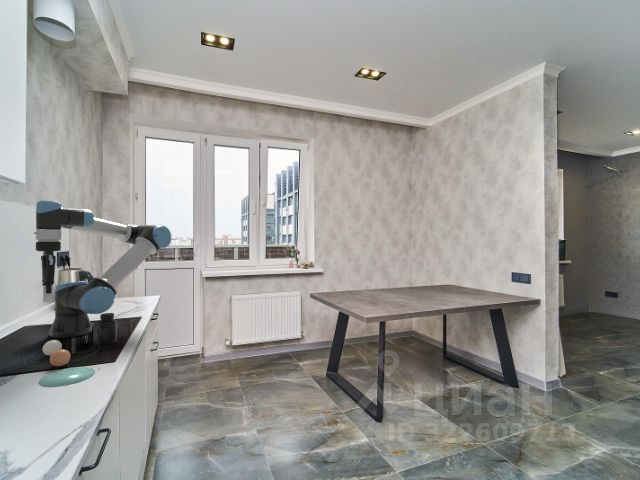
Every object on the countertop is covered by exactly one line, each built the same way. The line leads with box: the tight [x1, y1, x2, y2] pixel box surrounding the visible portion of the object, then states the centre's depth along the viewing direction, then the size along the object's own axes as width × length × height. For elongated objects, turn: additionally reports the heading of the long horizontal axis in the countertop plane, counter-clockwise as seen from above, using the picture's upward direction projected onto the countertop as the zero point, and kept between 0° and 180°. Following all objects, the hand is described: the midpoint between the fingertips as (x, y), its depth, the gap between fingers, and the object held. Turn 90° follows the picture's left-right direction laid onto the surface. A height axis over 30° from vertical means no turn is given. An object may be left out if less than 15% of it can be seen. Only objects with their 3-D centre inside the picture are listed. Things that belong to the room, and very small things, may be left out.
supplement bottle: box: [96, 312, 118, 346], centre depth 135 cm, size 7×7×12 cm
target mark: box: [38, 366, 96, 388], centre depth 103 cm, size 14×14×1 cm
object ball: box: [49, 348, 71, 367], centre depth 111 cm, size 6×6×6 cm
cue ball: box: [42, 339, 63, 357], centre depth 121 cm, size 6×6×6 cm
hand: (47, 301), depth 127 cm, fingers closed
